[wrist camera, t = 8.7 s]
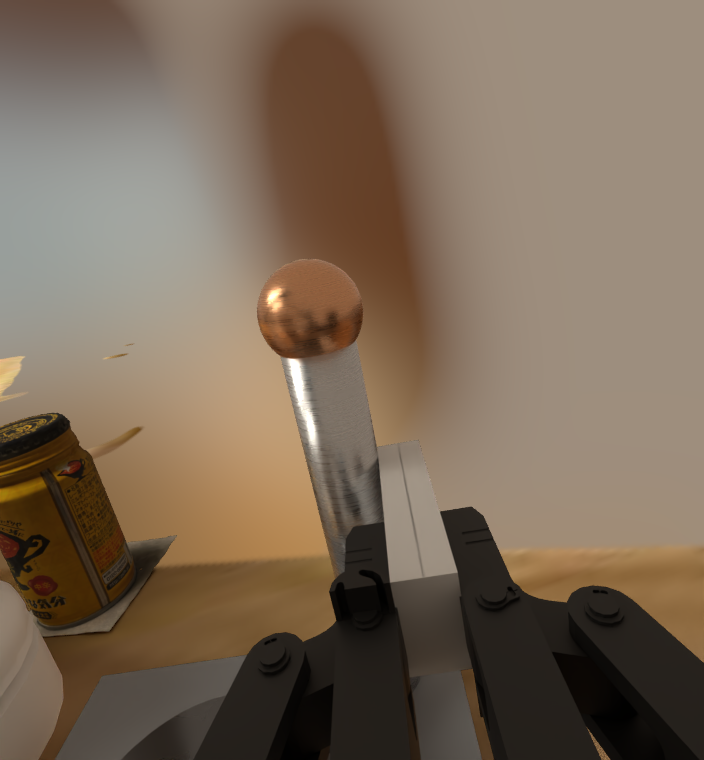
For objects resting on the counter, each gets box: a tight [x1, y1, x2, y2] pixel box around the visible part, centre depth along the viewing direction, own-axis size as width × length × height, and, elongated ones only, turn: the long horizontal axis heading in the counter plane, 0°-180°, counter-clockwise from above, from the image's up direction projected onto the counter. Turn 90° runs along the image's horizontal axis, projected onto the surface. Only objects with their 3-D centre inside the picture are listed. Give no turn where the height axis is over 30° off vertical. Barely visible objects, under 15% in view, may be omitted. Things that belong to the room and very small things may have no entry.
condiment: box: [0, 413, 177, 636], centre depth 29 cm, size 7×8×12 cm
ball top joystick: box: [121, 259, 420, 760], centre depth 13 cm, size 12×10×16 cm
